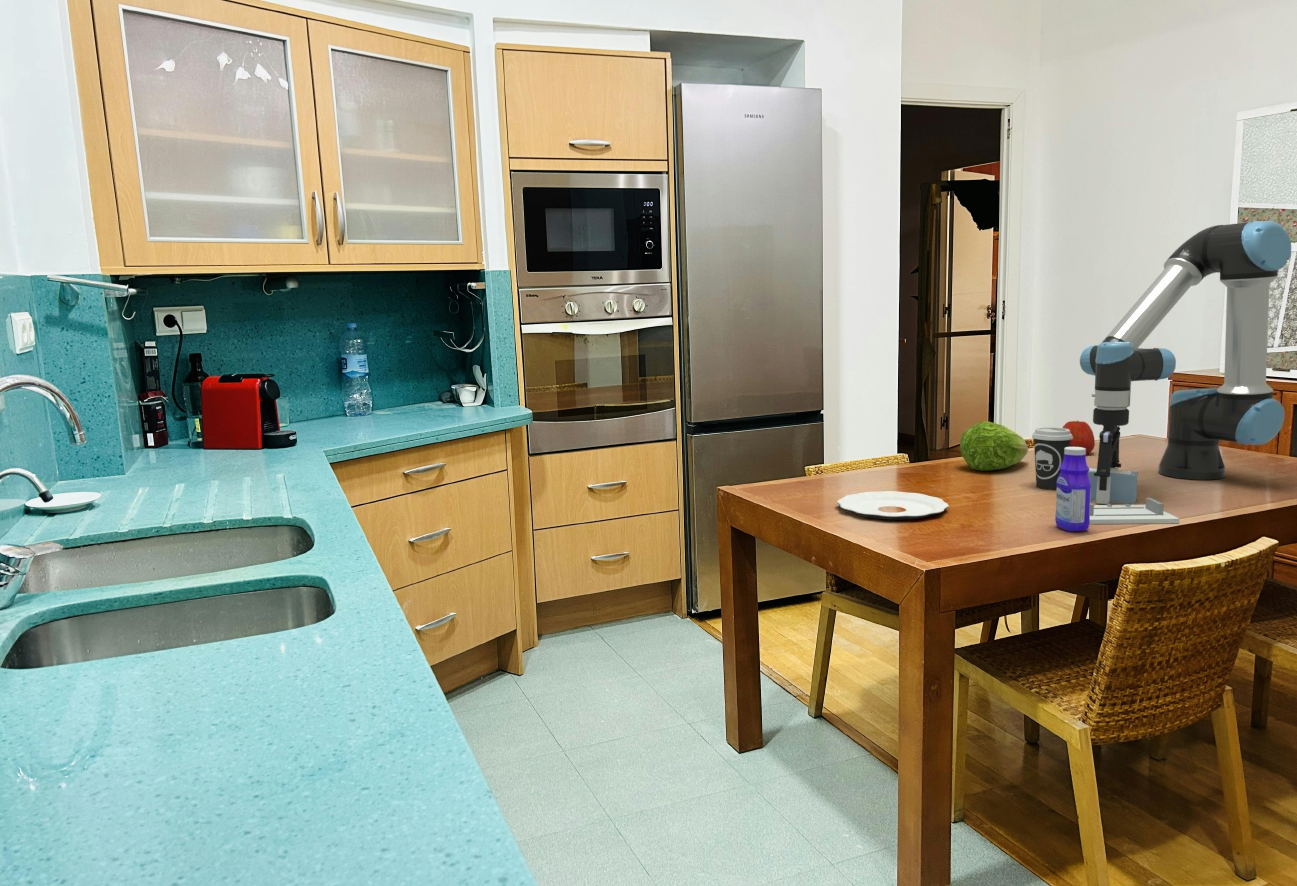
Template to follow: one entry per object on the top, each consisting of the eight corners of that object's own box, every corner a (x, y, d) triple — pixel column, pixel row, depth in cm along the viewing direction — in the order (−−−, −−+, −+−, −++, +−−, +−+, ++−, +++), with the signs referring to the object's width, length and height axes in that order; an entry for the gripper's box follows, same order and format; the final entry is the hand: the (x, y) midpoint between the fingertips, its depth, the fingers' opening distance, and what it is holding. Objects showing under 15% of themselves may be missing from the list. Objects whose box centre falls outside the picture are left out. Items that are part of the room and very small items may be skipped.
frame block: (1077, 499, 212) (1078, 470, 211) (1081, 495, 216) (1082, 467, 215) (1133, 504, 205) (1135, 474, 204) (1136, 500, 210) (1137, 471, 208)
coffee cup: (1075, 491, 220) (1077, 432, 218) (1034, 490, 222) (1036, 432, 220) (1065, 483, 230) (1067, 426, 227) (1026, 483, 231) (1028, 426, 229)
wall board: (1150, 508, 201) (1151, 494, 200) (1179, 523, 188) (1180, 507, 187) (1064, 509, 202) (1064, 495, 202) (1087, 524, 189) (1087, 508, 189)
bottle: (1049, 525, 190) (1052, 445, 187) (1074, 523, 190) (1078, 444, 187) (1068, 533, 183) (1072, 451, 180) (1094, 532, 183) (1098, 450, 180)
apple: (1062, 456, 266) (1064, 422, 264) (1052, 450, 276) (1054, 417, 274) (1098, 456, 264) (1100, 422, 262) (1087, 450, 274) (1089, 417, 272)
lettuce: (1055, 443, 251) (1017, 413, 261) (1005, 441, 237) (967, 410, 247) (1027, 482, 258) (991, 452, 268) (977, 483, 244) (941, 451, 254)
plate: (931, 528, 191) (931, 520, 191) (822, 516, 204) (822, 508, 204) (958, 504, 212) (958, 496, 212) (857, 495, 225) (858, 487, 225)
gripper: (1101, 401, 219) (1096, 487, 222) (1085, 412, 200) (1080, 506, 204) (1135, 402, 215) (1130, 490, 218) (1122, 414, 196) (1117, 510, 199)
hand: (1106, 498), depth 211 cm, fingers open, 11 cm apart
